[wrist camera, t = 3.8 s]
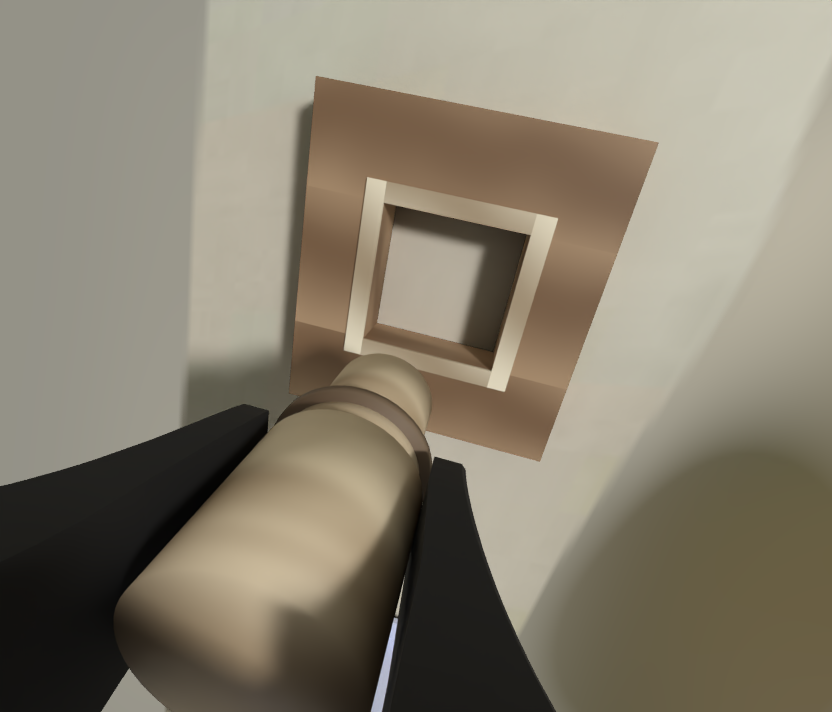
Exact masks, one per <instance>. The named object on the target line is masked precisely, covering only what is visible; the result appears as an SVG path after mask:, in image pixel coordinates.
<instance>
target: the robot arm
mask: <svg viewBox="0 0 832 712" xmlns="http://www.w3.org/2000/svg"><path fill="white" fill-rule="evenodd" d="M268 414H269V411H268V410H264V409H260V408H257V407H253V406H250V405H246V404H242V405H239V406H236V407H233V408H231V409H228V410H225V411H223V412H220V413H218V414H215V415H213V416H210V417H208V418H205V419H203V420H200V421H198V422H195V423H193V424H190V425H188V426H185V427H182V428H180V429H177V430H175V431H172V432H170V433H167V434H165V435H162V436H160V437H157V438H154V439H152V440H149V441H146V442H144V443H141V444H138V445H135V446H132V447H130V448H126V449H124V450H121V451H118V452H115V453H112V454H109V455H107V456H104V457H101V458H98V459H95V460H92V461H89V462H86V463H83V464H80V465H76V466H73V467H70V468H67V469H63V470H60V471H56V472H52V473H49V474H45V475H42V476H38V477H35V478H31V479H27V480H24V481H20V482H16V483H12V484H8V485H4V486H0V712H101V711H102V709H103V707H104V706H105V705H106V703H107V701H108V700H109V698H110V697H111V695H112V694H113V692H114V691H115V689H116V687H117V686H118V684H119V683H120V681H121V679H122V678H123V677H124V675H125V674H126V672H127V670H128V669H129V667H128V665H127V664H126V662H125V660H124V658H123V656H122V654H121V652H120V650H119V647H118V645H117V642H116V639H115V633H114V619H113V617H114V612H115V608H116V605H117V603H118V601H119V599H120V597H121V596H122V594H123V593H124V592H125V591H126V589H127V588H128V587H129V586H130V585H131V584H132V583H133V582H134V580H135V579H136V578H137V577H138V576H139V575H140V574H141V573H142V572H143V570H144V569H145V568H146V567H147V566H148V565H149V564H150V563H151V562H152V560H153V559H154V558H155V557H156V556H157V555H158V554H159V553H160V552H161V550H162V549H163V548H164V547H165V546H166V545H167V544H168V543H169V542H170V540H171V539H172V538H173V537H174V536H175V535H176V534H177V533H178V532H179V530H180V529H181V528H182V527H183V526H184V525H185V524H186V523H187V522H188V520H189V519H190V518H191V517H192V516H193V515H194V514H195V513H196V512H197V510H198V509H199V508H200V507H201V506H202V505H203V504H204V503H205V502H206V501H207V499H208V498H209V497H210V496H211V495H212V494H213V493H214V492H215V491H216V489H217V488H218V487H219V486H220V485H221V484H222V483H223V482H224V481H225V479H226V478H227V477H228V476H229V475H230V474H231V473H232V472H233V471H234V469H235V468H236V467H237V466H238V465H239V464H240V463H241V462H242V461H243V459H244V458H245V457H246V456H247V455H248V454H249V453H250V452H251V451H252V449H253V448H254V447H255V446H256V445H257V444H258V443H259V442H260V441H261V439H262V438H263V437H264V436H265V435H266V434H267V431H268ZM371 712H556V711H555V709H554V707H553V705H552V704H551V702H550V700H549V698H548V696H547V694H546V693H545V691H544V689H543V687H542V685H541V684H540V682H539V680H538V678H537V676H536V674H535V672H534V670H533V668H532V666H531V664H530V662H529V660H528V658H527V656H526V654H525V652H524V650H523V647H522V646H521V643H520V642H519V639H518V637H517V635H516V633H515V630H514V628H513V626H512V624H511V621H510V619H509V617H508V615H507V612H506V610H505V607H504V605H503V603H502V600H501V598H500V595H499V593H498V590H497V588H496V585H495V582H494V579H493V577H492V574H491V571H490V568H489V566H488V563H487V560H486V557H485V554H484V551H483V548H482V544H481V541H480V537H479V534H478V531H477V527H476V524H475V520H474V516H473V512H472V508H471V503H470V499H469V494H468V488H467V482H466V470H465V468H464V467H463V465H462V464H460V463H456V462H452V461H449V460H445V459H441V458H438V457H434V461H433V464H432V468H431V472H430V475H429V479H428V483H427V487H426V491H425V495H424V499H423V503H422V507H421V511H420V515H419V519H418V523H417V527H416V531H415V536H414V540H413V544H412V548H411V552H410V556H409V560H408V564H407V568H406V572H405V578H404V584H403V591H402V597H401V603H400V609H399V615H398V619H397V618H394V621H393V625H392V629H391V633H390V637H389V641H388V645H387V649H386V653H385V657H384V661H383V665H382V669H381V673H380V677H379V681H378V685H377V689H376V693H375V697H374V701H373V705H372V709H371Z"/></svg>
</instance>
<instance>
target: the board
mask: <svg viewBox="0 0 832 712" xmlns="http://www.w3.org/2000/svg"><path fill="white" fill-rule="evenodd" d="M657 146H658V142H653V141H648V140H643V139H637V138H632V137H627V136H622V135H617V134H612V133H607V132H601V131H596V130H591V129H586V128H581V127H576V126H571V125H565V124H560V123H555V122H550V121H545V120H540V119H535V118H529V117H524V116H519V115H514V114H509V113H504V112H499V111H493V110H488V109H483V108H478V107H473V106H468V105H463V104H457V103H452V102H447V101H442V100H437V99H432V98H427V97H421V96H416V95H411V94H406V93H401V92H396V91H391V90H385V89H380V88H375V87H370V86H365V85H360V84H355V83H350V82H344V81H339V80H334V79H329V78H324V77H319V76H316V81H315V92H314V104H313V116H312V128H311V139H310V151H309V163H308V175H307V186H306V198H305V210H304V222H303V233H302V245H301V257H300V269H299V280H298V292H297V304H296V316H295V327H294V339H293V351H292V362H291V374H290V386H289V393H290V394H294V395H297V396H301V395H303V394H305V393H307V392H309V391H311V390H314V389H317V388H321V387H326V386H330V385H331V384H332V382H333V381H334V380H335V379H336V377H337V376H338V375H339V374H340V373H341V371H342V370H343V369H344V368H345V367H346V365H348V364H349V363H350V362H351V361H353V360H354V359H356V358H358V357H361V356H364V355H367V354H375V353H381V354H388V355H393V356H396V357H398V358H401V359H403V360H405V361H407V362H408V363H410V364H411V365H412V366H414V367H415V368H416V369H417V370H418V371H419V372H420V373H421V374H422V376H423V377H424V378H425V380H426V382H427V384H428V386H429V388H430V391H431V395H432V411H431V415H430V418H429V422H428V425H427V428H426V431H429V432H433V433H437V434H440V435H444V436H448V437H451V438H455V439H459V440H462V441H466V442H470V443H473V444H477V445H481V446H484V447H488V448H492V449H495V450H499V451H503V452H506V453H510V454H514V455H517V456H521V457H525V458H528V459H532V460H536V461H539V462H540V460H541V457H542V454H543V452H544V449H545V446H546V444H547V441H548V438H549V436H550V433H551V430H552V428H553V425H554V422H555V420H556V417H557V414H558V412H559V409H560V406H561V403H562V401H563V398H564V395H565V393H566V390H567V387H568V385H569V382H570V379H571V377H572V374H573V371H574V369H575V366H576V363H577V361H578V358H579V355H580V353H581V350H582V347H583V345H584V342H585V339H586V336H587V334H588V331H589V328H590V326H591V323H592V320H593V318H594V315H595V312H596V310H597V307H598V304H599V302H600V299H601V296H602V294H603V291H604V288H605V286H606V283H607V280H608V277H609V275H610V272H611V269H612V267H613V264H614V261H615V259H616V256H617V253H618V251H619V248H620V245H621V243H622V240H623V237H624V235H625V232H626V229H627V227H628V224H629V221H630V218H631V216H632V213H633V210H634V208H635V205H636V202H637V200H638V197H639V194H640V192H641V189H642V186H643V184H644V181H645V178H646V176H647V173H648V170H649V168H650V165H651V162H652V160H653V157H654V154H655V151H656V149H657ZM396 205H397V206H401V207H406V208H410V209H415V210H419V211H424V212H428V213H433V214H437V215H442V216H446V217H451V218H455V219H460V220H464V221H469V222H473V223H478V224H482V225H487V226H491V227H496V228H500V229H505V230H509V231H514V232H519V233H523V234H527V235H526V239H525V242H524V246H523V249H522V253H521V256H520V260H519V263H518V267H517V270H516V274H515V277H514V281H513V284H512V288H511V291H510V295H509V298H508V302H507V305H506V309H505V313H504V316H503V320H502V323H501V327H500V330H499V334H498V337H497V341H496V344H495V348H494V351H493V352H491V351H487V350H483V349H479V348H475V347H471V346H467V345H463V344H459V343H455V342H451V341H447V340H443V339H439V338H435V337H431V336H427V335H423V334H419V333H415V332H411V331H407V330H403V329H399V328H395V327H391V326H387V325H383V324H379V323H377V319H378V313H379V307H380V301H381V295H382V289H383V283H384V277H385V271H386V265H387V259H388V252H389V246H390V240H391V234H392V228H393V222H394V216H395V210H396Z"/></svg>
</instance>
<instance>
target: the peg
mask: <svg viewBox="0 0 832 712" xmlns="http://www.w3.org/2000/svg"><path fill="white" fill-rule="evenodd" d="M431 411H432V395H431V391H430V388H429V386H428V384H427V382H426V380H425V378H424V377H423V376H422V374H421V373H420V372H419V371H418V370H417V369H416V368H415V367H414V366H412V365H411V364H410V363H408V362H407V361H405V360H403V359H401V358H398V357H396V356H393V355H388V354H381V353H375V354H367V355H364V356H361V357H358V358H356V359H354V360H353V361H351V362H350V363H349V364H348V365H346V367H345V368H344V369H343V370H342V371H341V373H340V374H339V375H338V376H337V377H336V379H335V380H334V381H333V382H332V384H331V385H330V386H326V387H321V388H317V389H314V390H311V391H309V392H307V393H305V394H303V395H301V396H300V397H298V398H297V399H296V400H295V401H293V402H292V403H291V404H290V405H289V406H288V407H287V408H286V409H285V411H284V412H283V413H282V414H281V415H280V417H279V418H278V420H277V422H276V423H275V425H274V427H272V428H271V429H270V431H269V432H268V433H267V434H266V435H265V436H264V437H263V438H262V439H261V441H260V442H259V443H258V444H257V445H256V446H255V447H254V448H253V449H252V451H251V452H250V453H249V454H248V455H247V456H246V457H245V458H244V459H243V461H242V462H241V463H240V464H239V465H238V466H237V467H236V468H235V469H234V471H233V472H232V473H231V474H230V475H229V476H228V477H227V478H226V479H225V481H224V482H223V483H222V484H221V485H220V486H219V487H218V488H217V489H216V491H215V492H214V493H213V494H212V495H211V496H210V497H209V498H208V499H207V501H206V502H205V503H204V504H203V505H202V506H201V507H200V508H199V509H198V510H197V512H196V513H195V514H194V515H193V516H192V517H191V518H190V519H189V520H188V522H187V523H186V524H185V525H184V526H183V527H182V528H181V529H180V530H179V532H178V533H177V534H176V535H175V536H174V537H173V538H172V539H171V540H170V542H169V543H168V544H167V545H166V546H165V547H164V548H163V549H162V550H161V552H160V553H159V554H158V555H157V556H156V557H155V558H154V559H153V560H152V562H151V563H150V564H149V565H148V566H147V567H146V568H145V569H144V570H143V572H142V573H141V574H140V575H139V576H138V577H137V578H136V579H135V580H134V582H133V583H132V584H131V585H130V586H129V587H128V588H127V589H126V591H125V592H124V593H123V594H122V596H121V597H120V599H119V601H118V603H117V605H116V608H115V612H114V617H113V619H114V633H115V639H116V642H117V645H118V647H119V650H120V652H121V654H122V656H123V658H124V660H125V662H126V664H127V665H128V667H129V668H130V670H131V671H132V673H133V674H134V675H135V676H136V678H137V679H138V680H139V681H140V683H141V684H142V685H143V686H144V687H145V688H146V689H147V690H148V691H149V692H150V693H151V694H152V695H153V696H154V697H155V698H156V699H157V700H158V701H159V702H161V703H162V704H163V705H164V706H165V707H167V708H168V709H169V710H171V711H172V712H371V709H372V705H373V701H374V697H375V693H376V689H377V685H378V681H379V677H380V673H381V669H382V665H383V661H384V657H385V653H386V649H387V645H388V641H389V637H390V633H391V629H392V625H393V621H394V617H395V613H396V608H397V604H398V600H399V596H400V592H401V588H402V584H403V580H404V576H405V572H406V568H407V564H408V560H409V556H410V552H411V548H412V544H413V540H414V536H415V531H416V527H417V523H418V519H419V515H420V511H421V507H422V502H423V499H424V495H425V491H426V487H427V483H428V479H429V475H430V472H431V468H432V458H431V453H430V449H429V446H428V443H427V441H426V438H425V436H424V435H425V431H426V428H427V425H428V422H429V418H430V415H431Z"/></svg>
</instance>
